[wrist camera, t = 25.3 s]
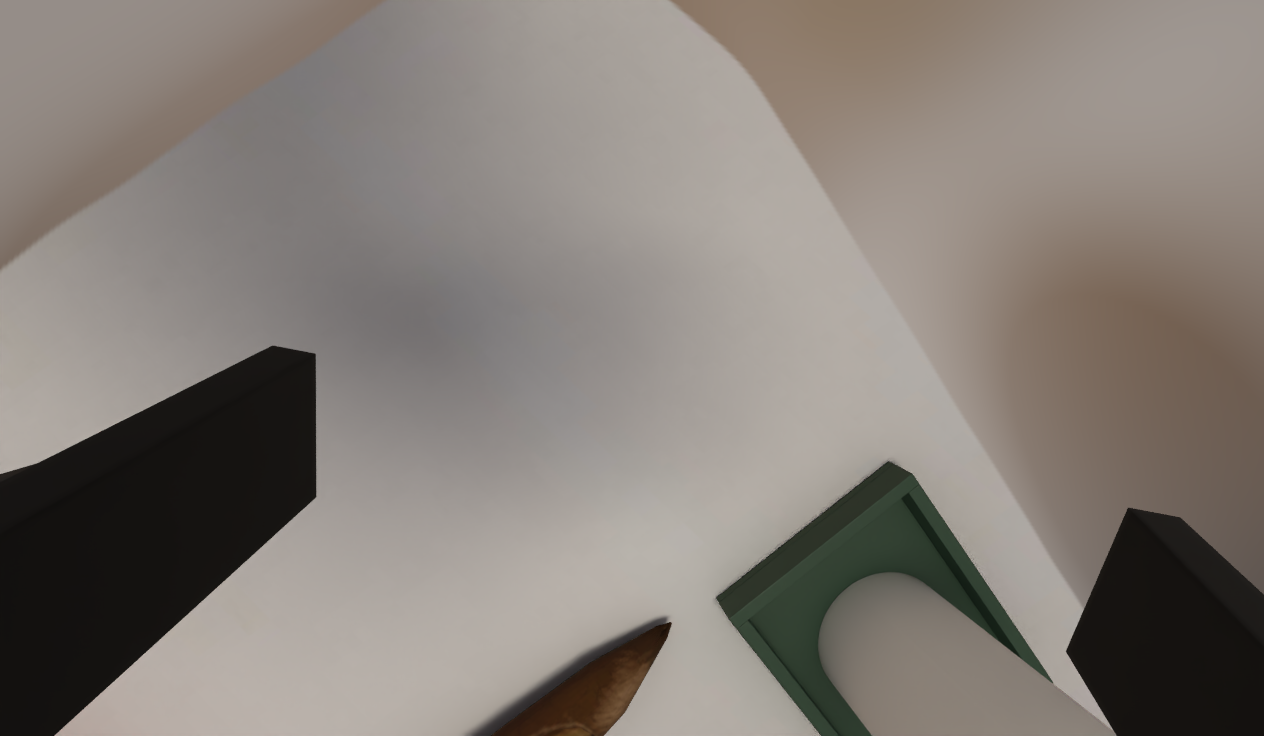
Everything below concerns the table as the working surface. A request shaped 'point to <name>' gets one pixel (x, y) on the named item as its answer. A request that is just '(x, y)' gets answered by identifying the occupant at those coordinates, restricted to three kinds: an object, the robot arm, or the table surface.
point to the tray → (841, 555)
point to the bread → (592, 692)
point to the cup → (935, 669)
